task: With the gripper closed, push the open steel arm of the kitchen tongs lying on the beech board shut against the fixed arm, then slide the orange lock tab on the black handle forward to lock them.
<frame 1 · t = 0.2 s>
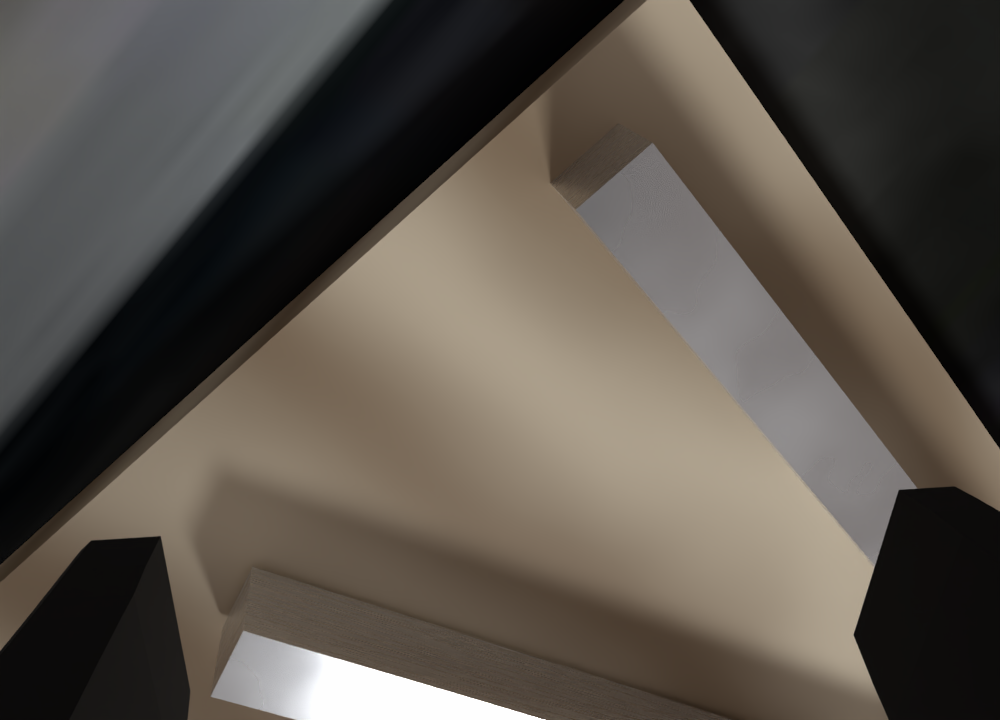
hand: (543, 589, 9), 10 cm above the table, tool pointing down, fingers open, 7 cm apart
board: (679, 691, 24), on the table
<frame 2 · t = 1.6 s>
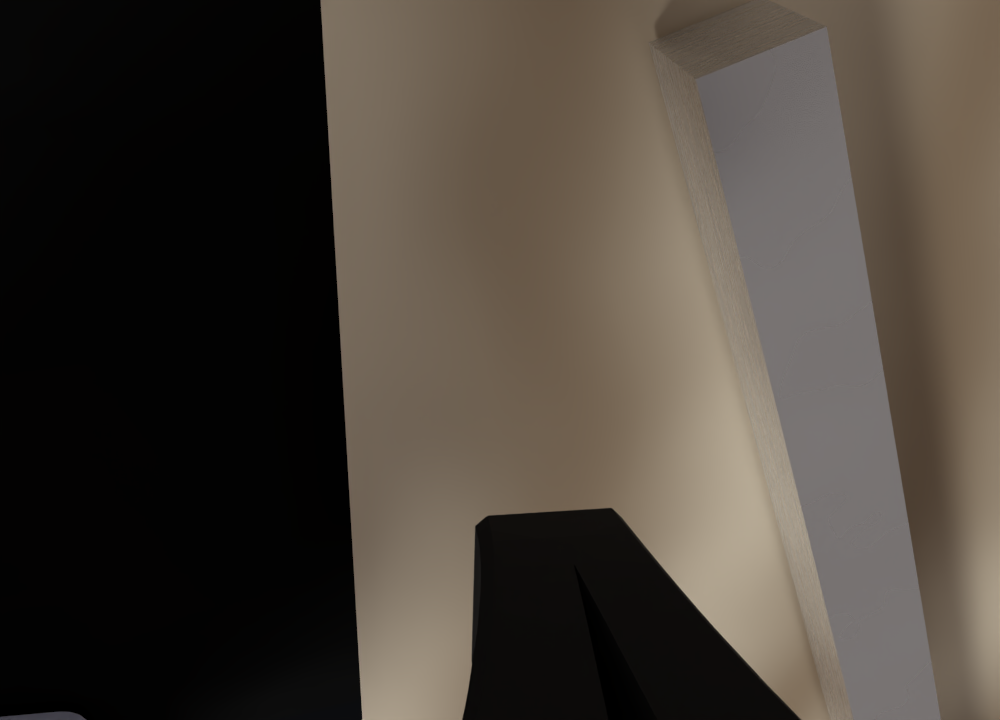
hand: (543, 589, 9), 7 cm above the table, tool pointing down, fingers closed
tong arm: (903, 602, 17), point 2 cm above the table, hinge at 22.0°
board: (814, 536, 20), on the table
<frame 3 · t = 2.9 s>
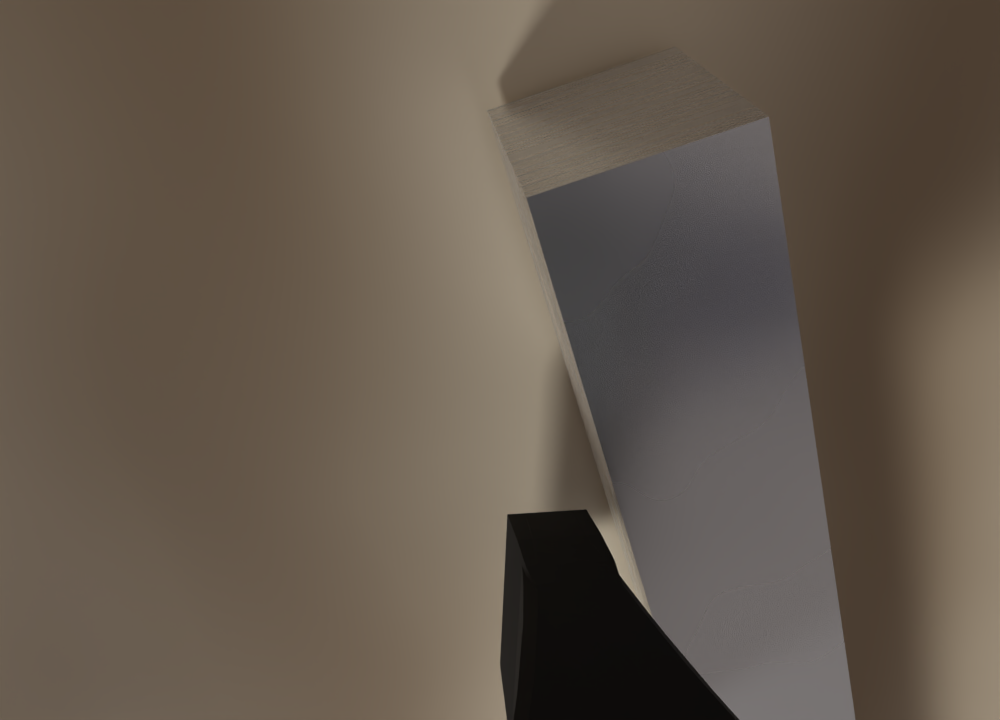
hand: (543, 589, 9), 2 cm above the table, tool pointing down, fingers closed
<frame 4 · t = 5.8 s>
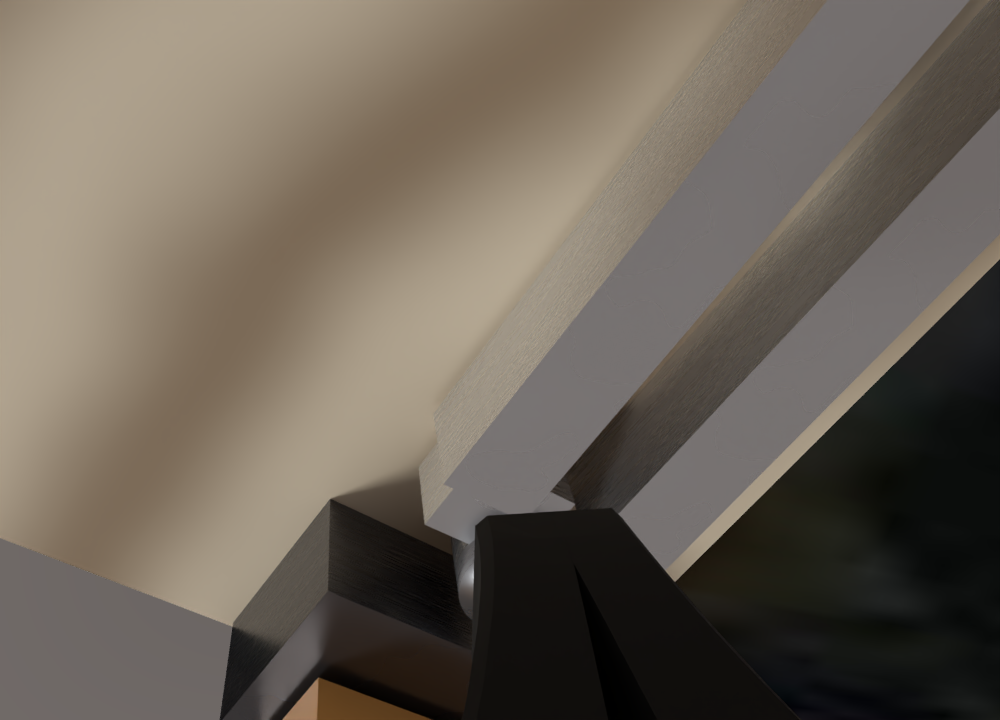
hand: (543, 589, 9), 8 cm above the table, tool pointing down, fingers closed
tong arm: (893, 36, 13), point 2 cm above the table, hinge at 1.4°
tongs frame: (498, 503, 18), resting on board
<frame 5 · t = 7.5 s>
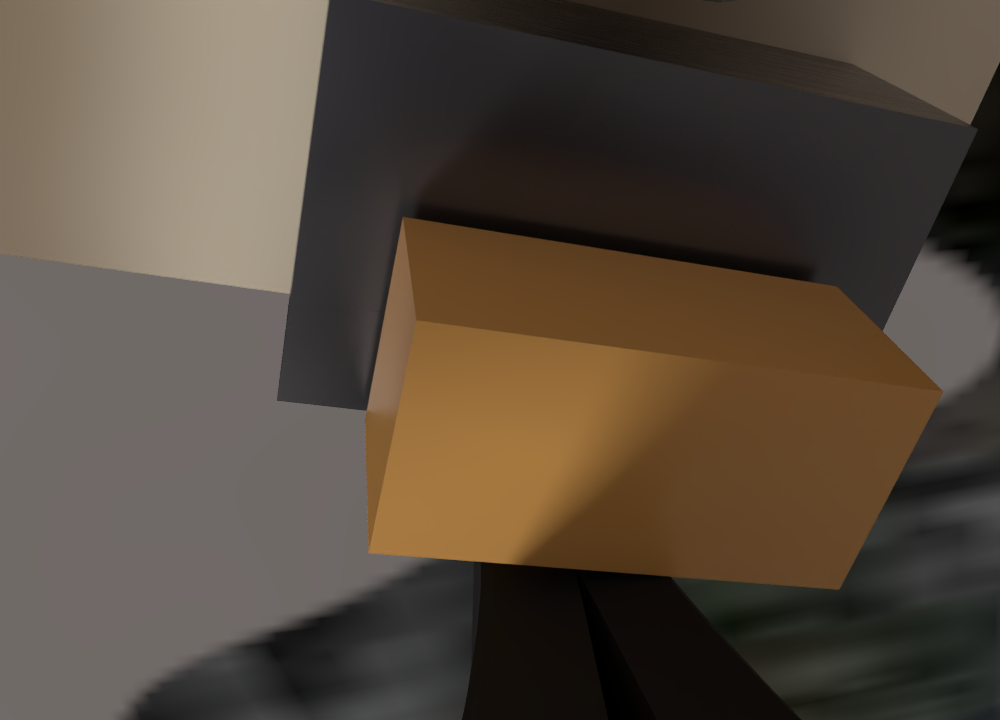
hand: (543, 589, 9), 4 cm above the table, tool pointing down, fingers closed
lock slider: (625, 406, 8), point 5 cm above the table, slide at 0.0 cm, touching gripper
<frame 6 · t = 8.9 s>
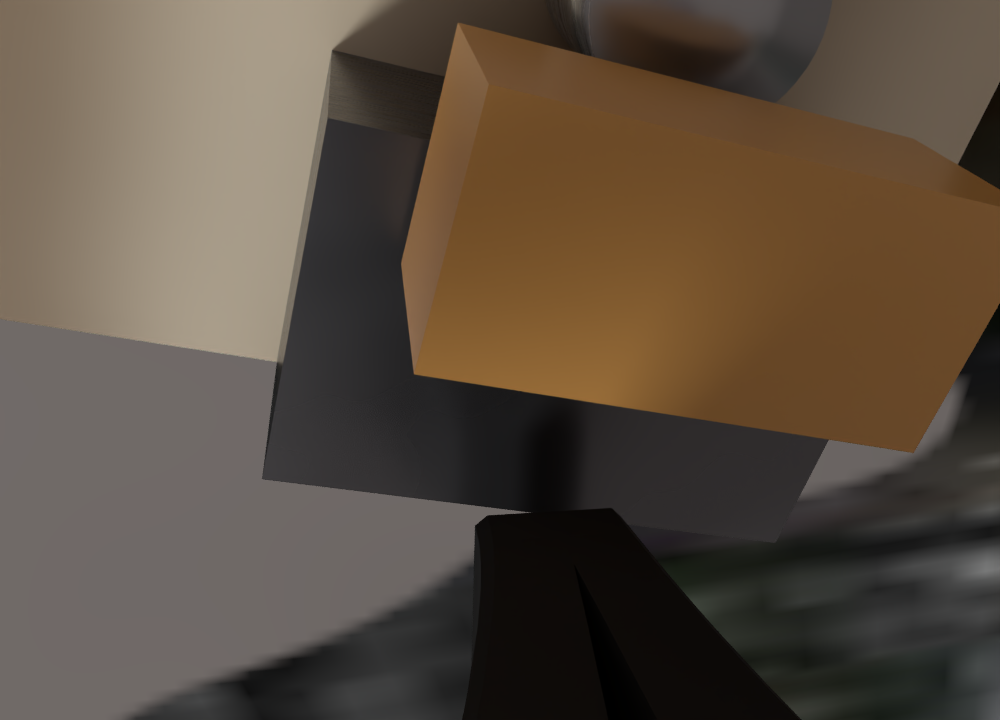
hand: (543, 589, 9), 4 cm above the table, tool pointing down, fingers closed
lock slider: (691, 243, 7), point 5 cm above the table, slide at 2.6 cm
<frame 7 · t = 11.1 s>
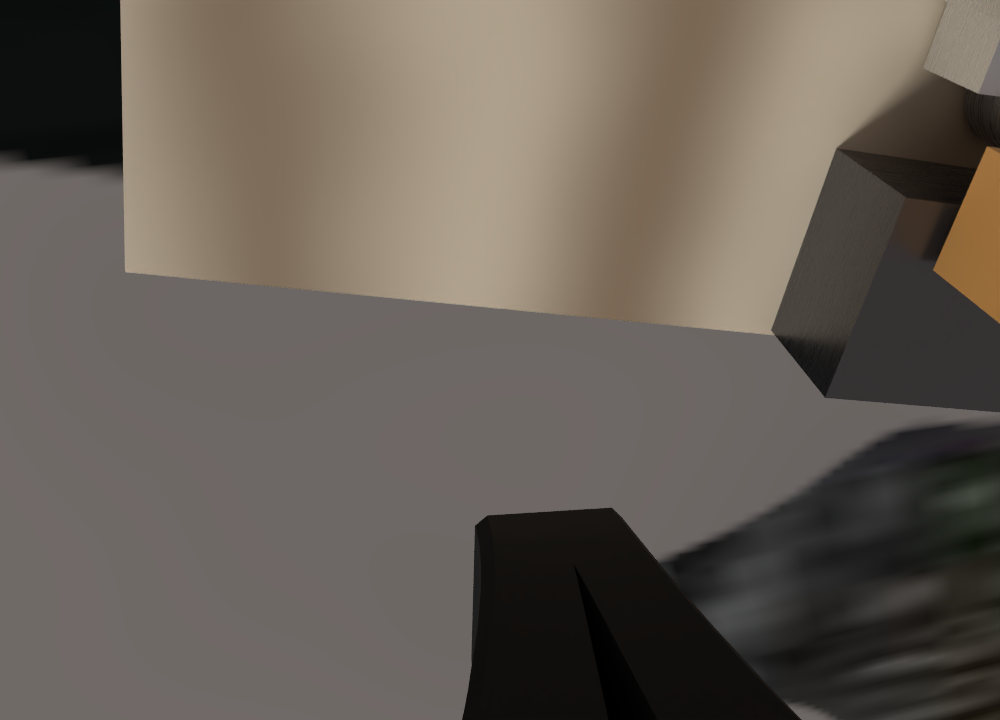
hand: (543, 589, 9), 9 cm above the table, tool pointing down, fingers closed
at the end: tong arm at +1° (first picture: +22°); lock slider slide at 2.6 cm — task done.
